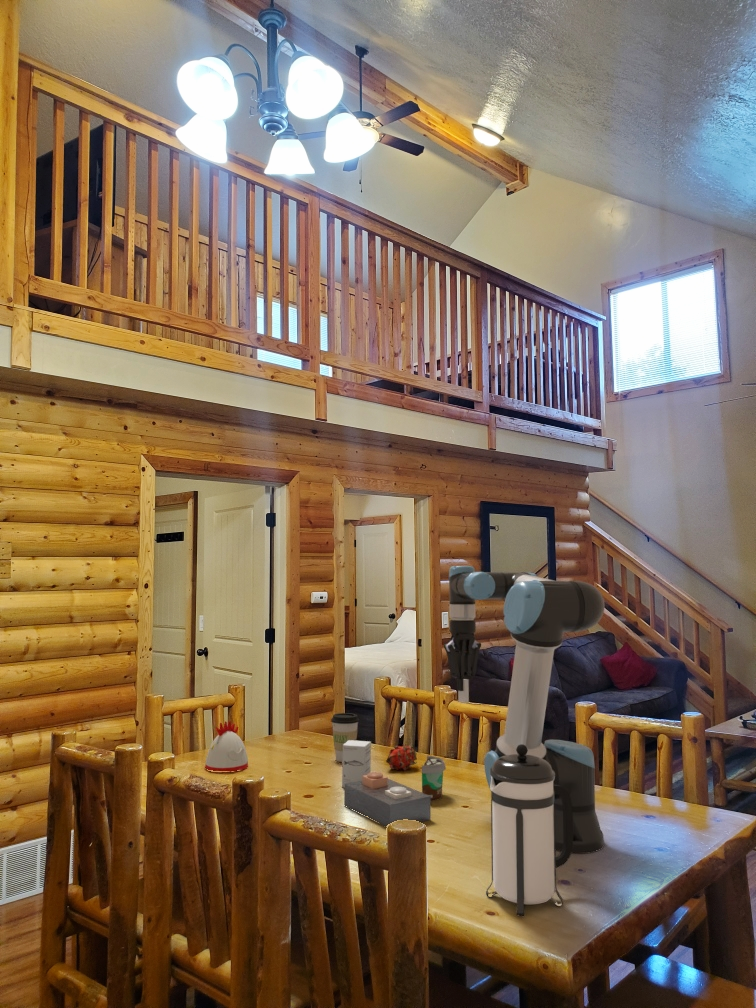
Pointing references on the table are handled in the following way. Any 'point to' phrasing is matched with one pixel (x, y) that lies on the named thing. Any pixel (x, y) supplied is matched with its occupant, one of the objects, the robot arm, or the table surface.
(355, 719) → the coffee cup
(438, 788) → the food container
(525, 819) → the coffee press
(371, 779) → the terracotta plunger
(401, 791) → the dome-topped white cube
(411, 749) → the dragon fruit
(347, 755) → the supplement box
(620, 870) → the table surface
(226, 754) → the kitchen timer
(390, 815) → the block
